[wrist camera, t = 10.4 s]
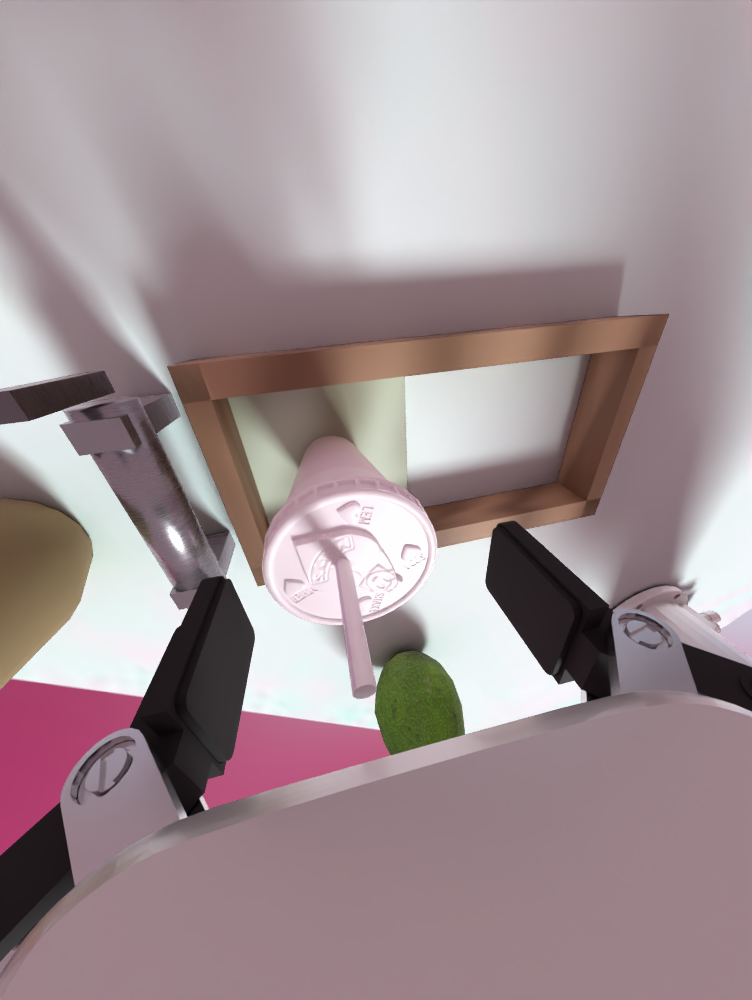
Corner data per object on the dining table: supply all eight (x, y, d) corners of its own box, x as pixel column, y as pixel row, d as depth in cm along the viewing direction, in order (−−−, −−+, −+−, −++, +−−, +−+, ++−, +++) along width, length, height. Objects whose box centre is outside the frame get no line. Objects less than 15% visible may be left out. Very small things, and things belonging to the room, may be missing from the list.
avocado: (385, 630, 29) (430, 793, 19) (449, 636, 32) (517, 780, 22) (355, 678, 32) (380, 841, 22) (416, 680, 35) (463, 824, 25)
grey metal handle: (161, 360, 14) (43, 386, 8) (240, 548, 21) (211, 651, 14) (107, 366, 14) (-64, 398, 7) (204, 555, 20) (157, 664, 14)
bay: (618, 316, 18) (669, 314, 16) (564, 495, 25) (594, 514, 22) (190, 360, 15) (167, 366, 12) (262, 555, 21) (257, 586, 19)
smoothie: (315, 389, 16) (348, 546, 4) (400, 449, 19) (559, 641, 7) (260, 479, 18) (179, 758, 6) (345, 521, 21) (400, 767, 9)
